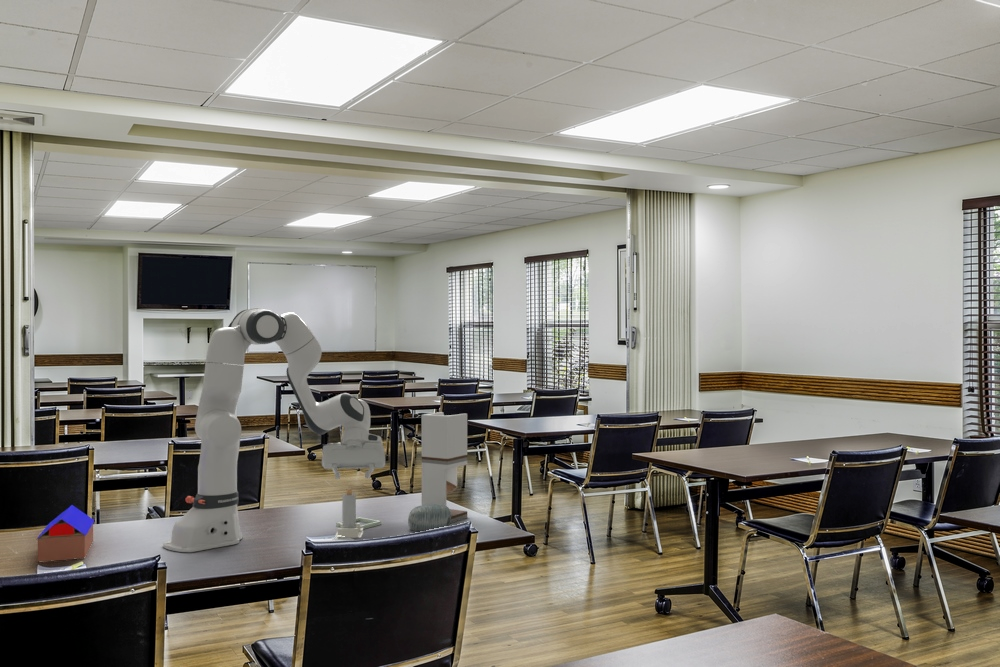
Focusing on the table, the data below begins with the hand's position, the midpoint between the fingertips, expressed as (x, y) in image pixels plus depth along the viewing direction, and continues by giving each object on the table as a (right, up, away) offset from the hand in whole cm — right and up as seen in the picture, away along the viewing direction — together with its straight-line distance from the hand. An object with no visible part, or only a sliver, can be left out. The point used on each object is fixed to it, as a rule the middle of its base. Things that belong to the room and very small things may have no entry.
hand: (352, 477), depth 255 cm
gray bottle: (+1, -15, -11) cm, 19 cm away
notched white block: (+28, -16, +14) cm, 36 cm away
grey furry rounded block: (+25, -16, -3) cm, 30 cm away
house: (-76, -17, -27) cm, 82 cm away
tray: (+2, -16, +2) cm, 16 cm away
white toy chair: (+1, -16, -9) cm, 18 cm away
